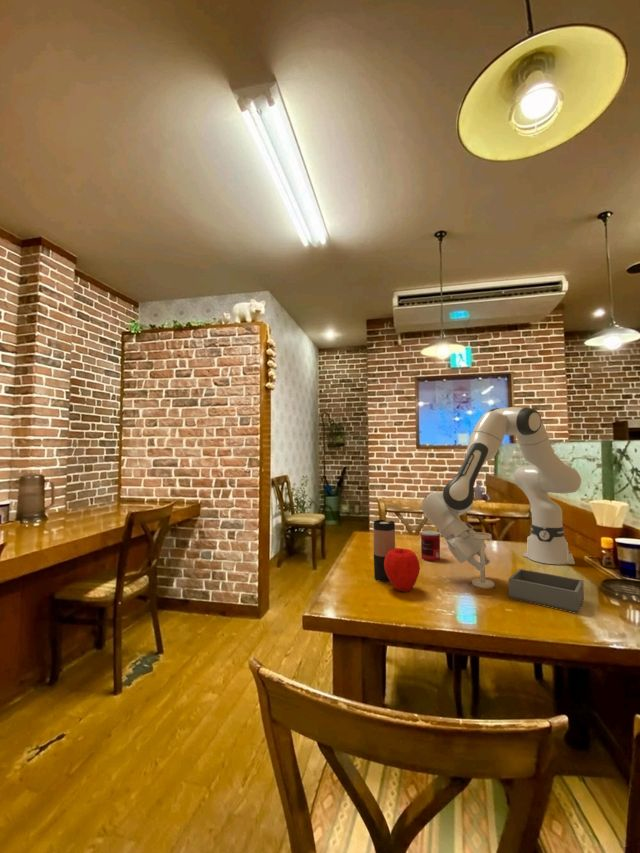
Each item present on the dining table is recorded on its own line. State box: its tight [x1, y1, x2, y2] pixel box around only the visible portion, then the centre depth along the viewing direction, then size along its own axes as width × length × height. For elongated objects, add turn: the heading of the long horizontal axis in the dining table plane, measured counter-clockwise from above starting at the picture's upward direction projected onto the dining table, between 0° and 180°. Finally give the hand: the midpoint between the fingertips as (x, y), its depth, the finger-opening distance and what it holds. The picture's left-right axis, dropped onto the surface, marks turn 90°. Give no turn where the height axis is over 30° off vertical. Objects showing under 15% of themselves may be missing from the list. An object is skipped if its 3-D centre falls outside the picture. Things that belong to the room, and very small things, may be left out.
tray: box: [508, 568, 585, 614], centre depth 122 cm, size 13×18×6 cm
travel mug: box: [373, 519, 396, 583], centre depth 141 cm, size 8×8×20 cm
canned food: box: [420, 530, 441, 562], centre depth 165 cm, size 8×8×11 cm
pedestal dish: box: [471, 531, 495, 590], centre depth 134 cm, size 7×7×17 cm
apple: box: [384, 547, 421, 593], centre depth 130 cm, size 12×12×13 cm
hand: (484, 566), depth 134 cm, fingers open, 6 cm apart
